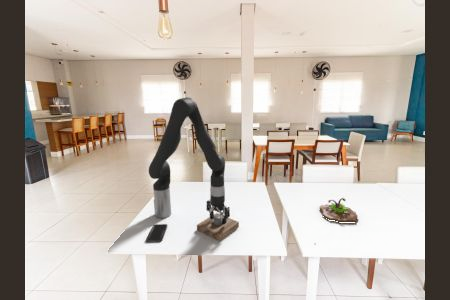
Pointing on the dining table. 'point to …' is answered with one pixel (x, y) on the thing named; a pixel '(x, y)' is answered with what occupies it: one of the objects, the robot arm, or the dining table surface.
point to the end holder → (216, 232)
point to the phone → (157, 233)
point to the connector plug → (217, 221)
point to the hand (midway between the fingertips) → (218, 221)
